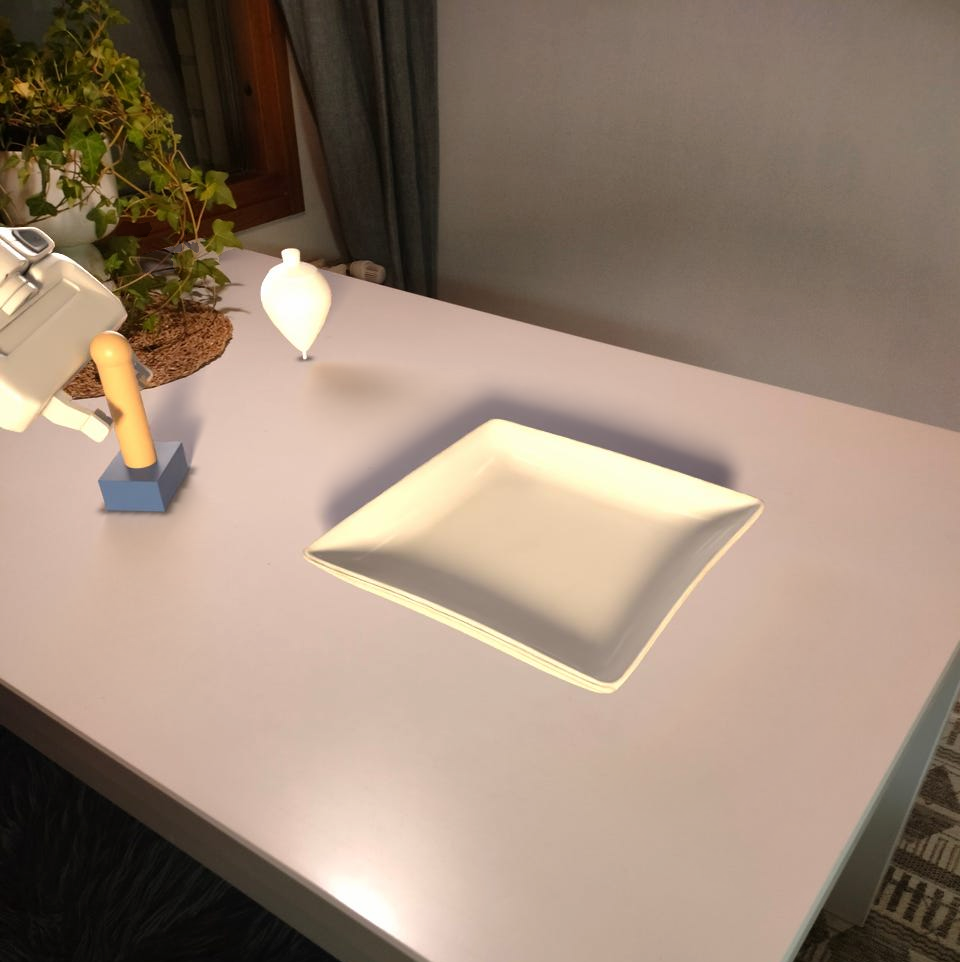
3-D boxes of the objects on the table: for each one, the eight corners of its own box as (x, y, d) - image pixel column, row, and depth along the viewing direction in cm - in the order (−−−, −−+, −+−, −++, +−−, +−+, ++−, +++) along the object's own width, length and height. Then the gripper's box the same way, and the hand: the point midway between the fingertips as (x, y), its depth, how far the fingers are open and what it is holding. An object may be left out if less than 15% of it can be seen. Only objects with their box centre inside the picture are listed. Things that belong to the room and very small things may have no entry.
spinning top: (342, 369, 103) (330, 258, 95) (273, 376, 102) (255, 265, 94) (334, 342, 109) (322, 236, 101) (269, 349, 107) (252, 242, 99)
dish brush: (106, 510, 80) (56, 349, 71) (134, 469, 86) (90, 315, 77) (165, 511, 80) (122, 350, 71) (189, 470, 86) (152, 315, 76)
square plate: (300, 590, 71) (293, 548, 69) (494, 448, 89) (494, 411, 86) (608, 729, 60) (613, 685, 57) (762, 534, 77) (772, 494, 74)
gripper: (-79, 308, 62) (101, 442, 68) (47, 221, 78) (185, 336, 84) (-115, 370, 65) (61, 493, 71) (13, 275, 81) (148, 381, 87)
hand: (128, 407), depth 77 cm, fingers open, 8 cm apart
